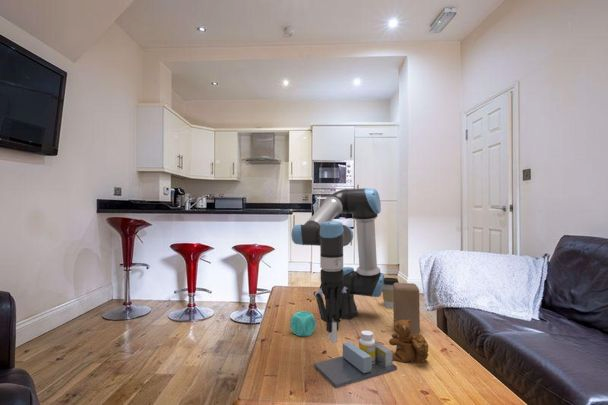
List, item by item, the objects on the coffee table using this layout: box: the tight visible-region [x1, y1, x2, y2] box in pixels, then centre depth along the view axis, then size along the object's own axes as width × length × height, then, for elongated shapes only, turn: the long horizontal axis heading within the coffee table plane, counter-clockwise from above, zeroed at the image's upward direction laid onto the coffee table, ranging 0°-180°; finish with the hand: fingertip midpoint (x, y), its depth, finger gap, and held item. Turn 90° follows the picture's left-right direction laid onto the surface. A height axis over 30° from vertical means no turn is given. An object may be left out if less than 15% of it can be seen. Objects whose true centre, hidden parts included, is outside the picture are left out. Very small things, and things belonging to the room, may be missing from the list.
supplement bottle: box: [358, 330, 376, 364], centre depth 104 cm, size 5×5×10 cm
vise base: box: [313, 340, 398, 389], centre depth 101 cm, size 14×24×6 cm, turn 116°
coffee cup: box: [382, 277, 400, 309], centre depth 167 cm, size 10×10×15 cm
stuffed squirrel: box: [388, 320, 429, 363], centre depth 108 cm, size 10×14×13 cm
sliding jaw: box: [342, 341, 372, 373], centre depth 102 cm, size 12×4×5 cm, turn 26°
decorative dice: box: [289, 310, 317, 337], centre depth 131 cm, size 8×8×8 cm
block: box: [392, 282, 421, 335], centre depth 133 cm, size 10×10×20 cm
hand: (332, 341), depth 98 cm, fingers closed
